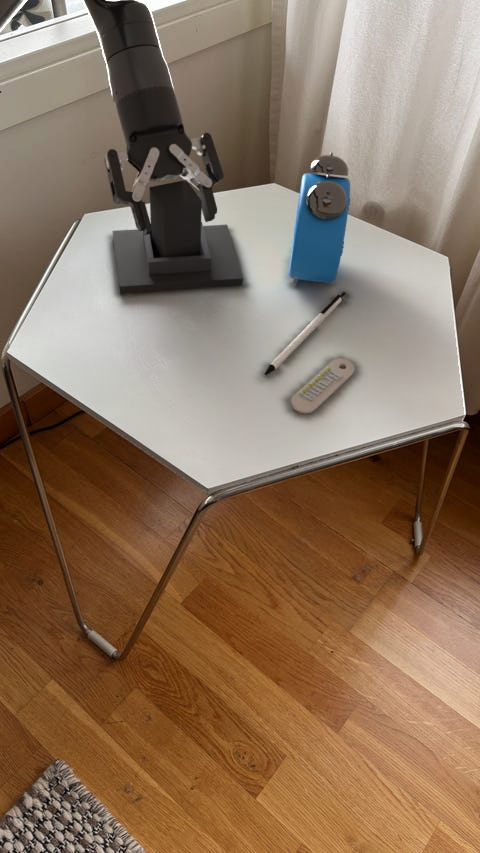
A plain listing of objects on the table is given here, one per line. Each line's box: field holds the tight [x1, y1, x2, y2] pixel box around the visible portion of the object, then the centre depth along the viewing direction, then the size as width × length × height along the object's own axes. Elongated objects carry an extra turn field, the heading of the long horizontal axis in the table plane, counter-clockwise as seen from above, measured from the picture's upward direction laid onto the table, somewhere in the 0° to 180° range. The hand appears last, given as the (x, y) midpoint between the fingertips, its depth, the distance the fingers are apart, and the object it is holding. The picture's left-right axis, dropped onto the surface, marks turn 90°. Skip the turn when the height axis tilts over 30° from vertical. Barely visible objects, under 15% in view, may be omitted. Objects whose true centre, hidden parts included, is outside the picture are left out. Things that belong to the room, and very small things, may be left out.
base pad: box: [112, 221, 244, 295], centre depth 94 cm, size 16×12×3 cm
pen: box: [263, 291, 347, 377], centre depth 87 cm, size 1×19×1 cm, turn 145°
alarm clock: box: [288, 152, 351, 286], centre depth 90 cm, size 13×6×15 cm, turn 173°
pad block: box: [149, 179, 203, 258], centre depth 91 cm, size 5×5×9 cm
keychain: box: [290, 357, 355, 414], centre depth 82 cm, size 10×1×3 cm
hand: (179, 226), depth 90 cm, fingers open, 8 cm apart
